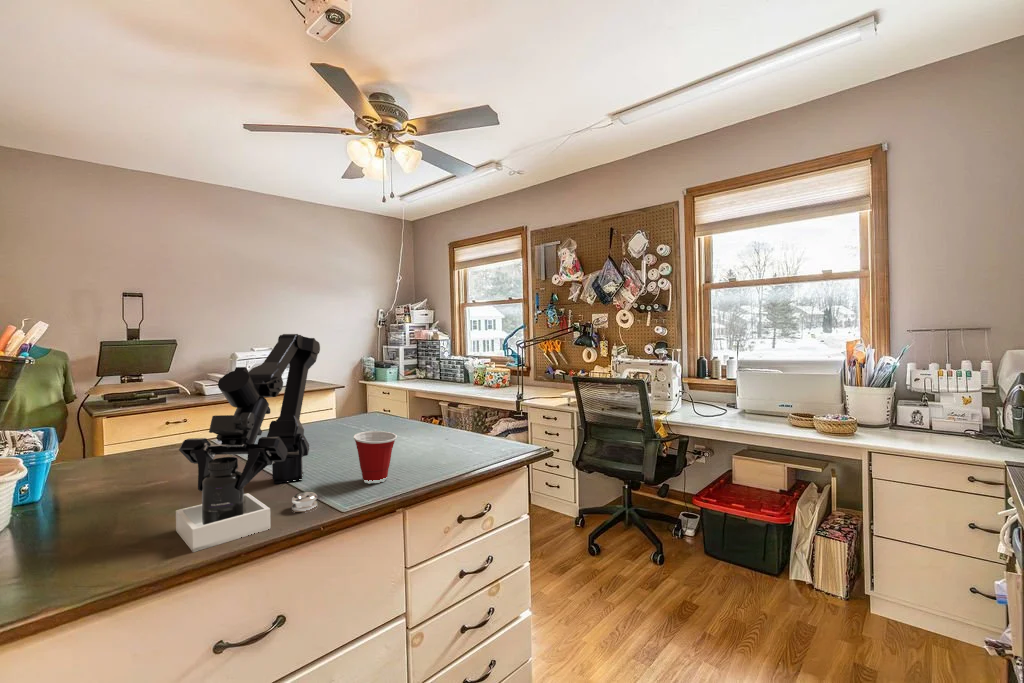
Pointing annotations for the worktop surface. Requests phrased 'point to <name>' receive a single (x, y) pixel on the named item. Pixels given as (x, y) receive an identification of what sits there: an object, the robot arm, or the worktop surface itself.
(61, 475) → the worktop surface
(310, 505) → the grooved metal pulley
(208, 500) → the supplement bottle
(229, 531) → the bin
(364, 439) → the plastic cup
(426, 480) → the worktop surface
